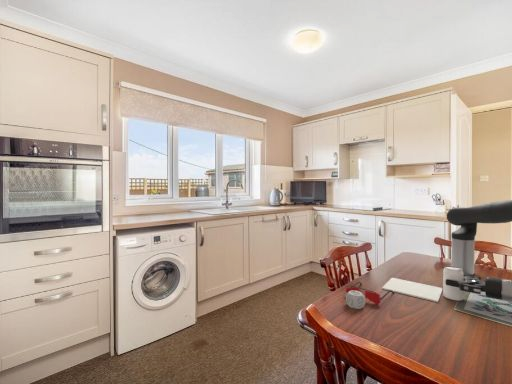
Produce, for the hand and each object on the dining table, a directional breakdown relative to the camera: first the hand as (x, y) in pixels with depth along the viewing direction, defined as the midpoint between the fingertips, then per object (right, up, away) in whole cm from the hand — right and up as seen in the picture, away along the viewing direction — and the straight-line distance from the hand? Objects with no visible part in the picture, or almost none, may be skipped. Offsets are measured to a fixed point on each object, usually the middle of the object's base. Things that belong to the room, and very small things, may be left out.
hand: (446, 279), depth 104 cm
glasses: (-30, -8, +3) cm, 31 cm away
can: (+2, -7, -1) cm, 7 cm away
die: (-40, -8, -7) cm, 41 cm away
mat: (-10, -7, +7) cm, 14 cm away
